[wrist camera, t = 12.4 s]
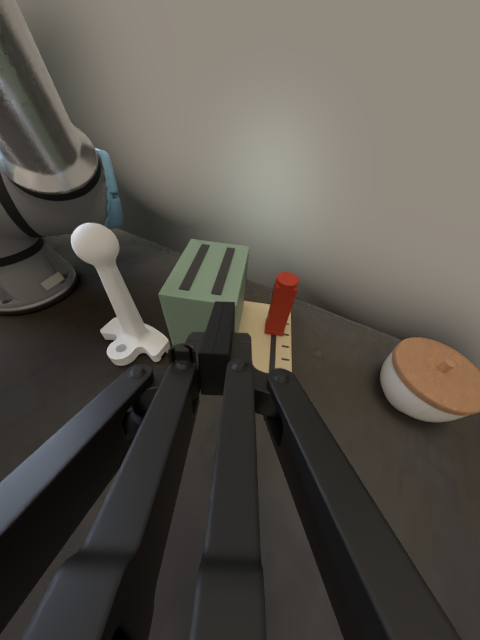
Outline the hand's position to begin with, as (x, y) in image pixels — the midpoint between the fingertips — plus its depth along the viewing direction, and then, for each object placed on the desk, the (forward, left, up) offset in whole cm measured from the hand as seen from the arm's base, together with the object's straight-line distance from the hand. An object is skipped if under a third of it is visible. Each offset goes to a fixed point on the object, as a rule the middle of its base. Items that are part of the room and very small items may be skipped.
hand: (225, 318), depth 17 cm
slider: (-2, +15, -16) cm, 22 cm away
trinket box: (+20, +19, -19) cm, 34 cm away
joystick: (-18, -2, -19) cm, 26 cm away
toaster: (-7, +11, -19) cm, 23 cm away
